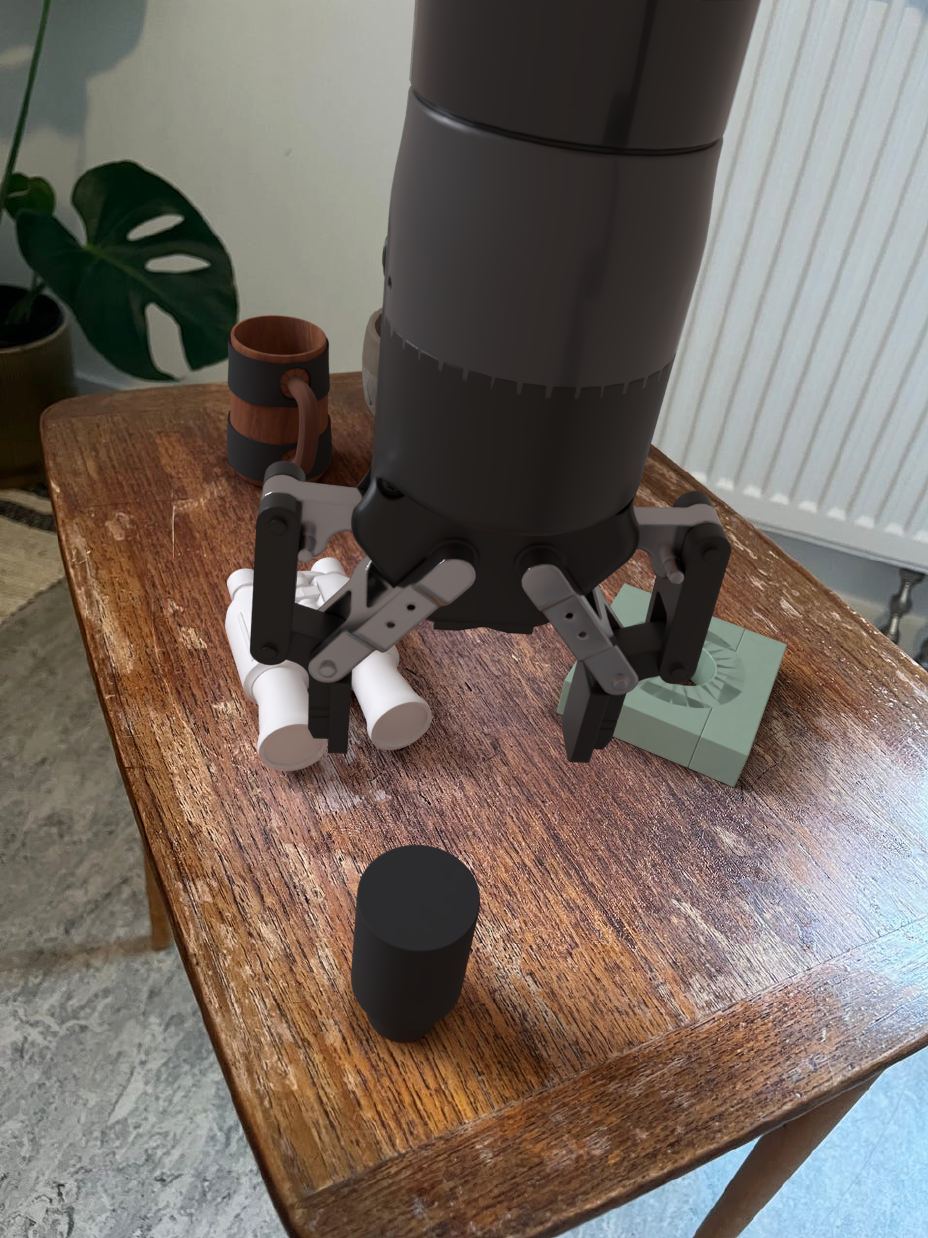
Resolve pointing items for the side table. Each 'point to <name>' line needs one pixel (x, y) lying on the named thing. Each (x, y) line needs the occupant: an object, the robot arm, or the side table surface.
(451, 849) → the side table surface
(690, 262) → the robot arm
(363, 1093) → the side table surface
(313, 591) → the binoculars
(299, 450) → the mug
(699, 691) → the green block with hole
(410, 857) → the stopper
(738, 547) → the side table surface
